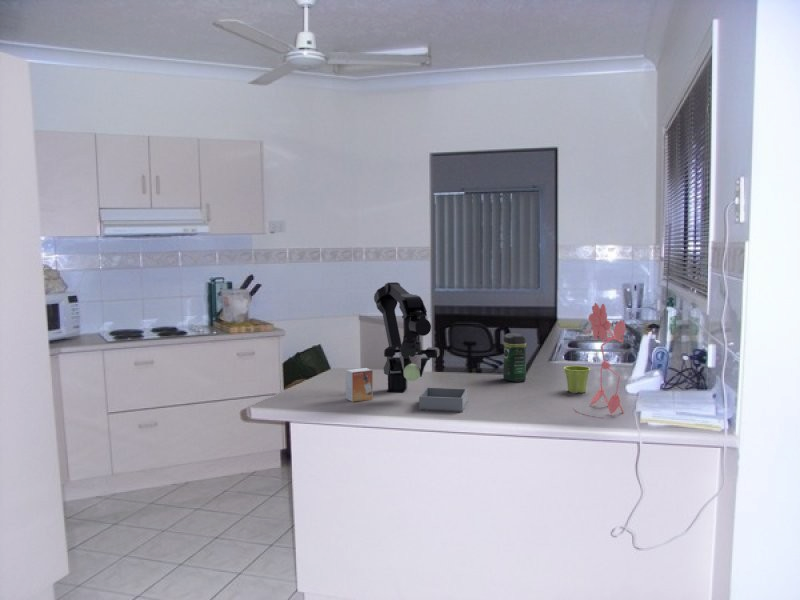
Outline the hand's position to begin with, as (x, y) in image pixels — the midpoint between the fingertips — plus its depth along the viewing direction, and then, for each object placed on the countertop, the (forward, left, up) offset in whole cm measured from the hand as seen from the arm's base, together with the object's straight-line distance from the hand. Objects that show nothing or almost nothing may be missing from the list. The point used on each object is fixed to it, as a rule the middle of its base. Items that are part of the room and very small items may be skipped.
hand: (412, 376), depth 235 cm
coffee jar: (+34, +38, -8) cm, 52 cm away
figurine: (+62, -6, -8) cm, 63 cm away
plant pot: (+57, +21, -8) cm, 61 cm away
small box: (-18, -4, -8) cm, 20 cm away
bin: (+12, -8, -8) cm, 17 cm away
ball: (0, 0, -2) cm, 2 cm away
